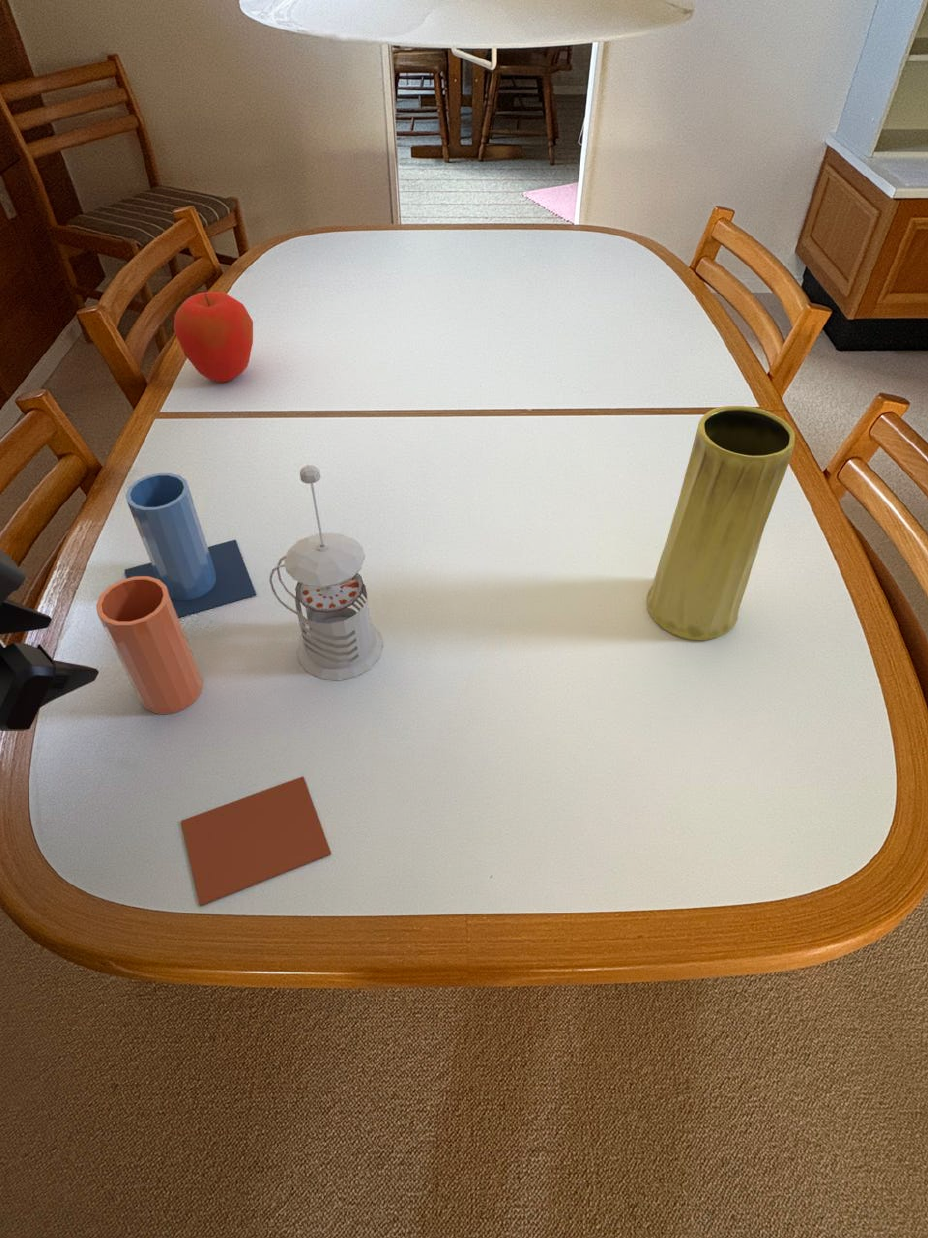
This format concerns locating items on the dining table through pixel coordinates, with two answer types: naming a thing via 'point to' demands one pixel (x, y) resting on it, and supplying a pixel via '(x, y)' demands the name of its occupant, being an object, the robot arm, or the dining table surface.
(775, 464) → the vase
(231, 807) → the clay pad
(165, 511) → the blue tumbler
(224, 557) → the blue pad
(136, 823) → the dining table surface
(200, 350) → the apple
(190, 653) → the terracotta tumbler
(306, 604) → the french press
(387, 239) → the dining table surface
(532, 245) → the dining table surface
